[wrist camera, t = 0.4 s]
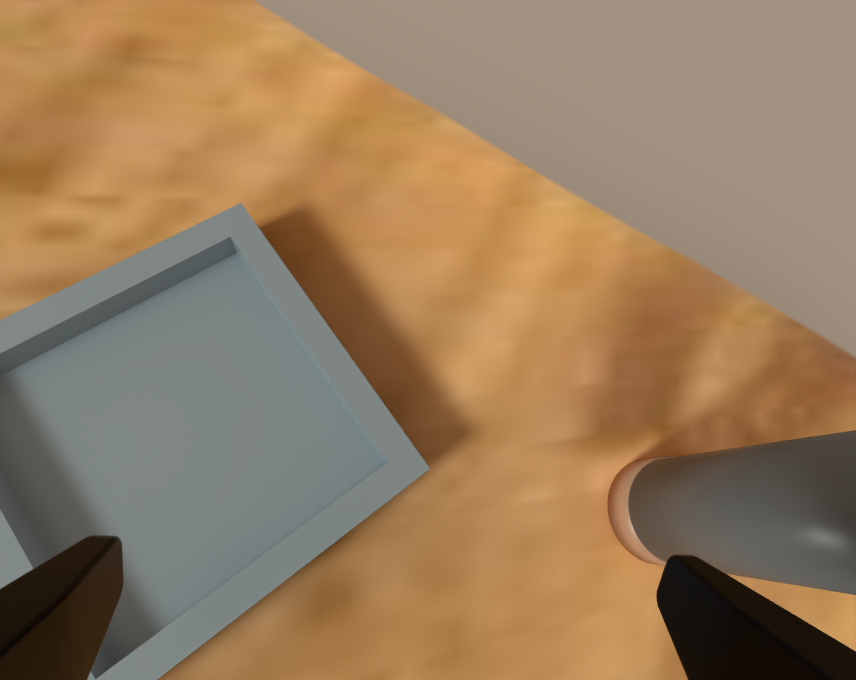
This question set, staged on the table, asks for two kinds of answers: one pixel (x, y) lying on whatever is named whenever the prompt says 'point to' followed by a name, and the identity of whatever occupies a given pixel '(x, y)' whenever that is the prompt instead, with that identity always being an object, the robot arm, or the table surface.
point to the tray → (187, 436)
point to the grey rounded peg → (747, 510)
